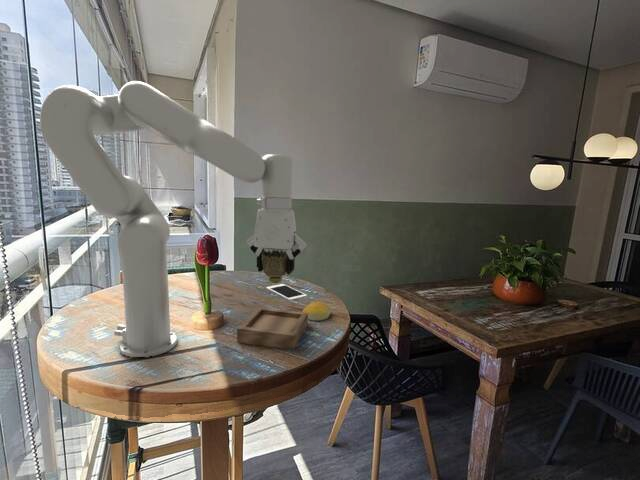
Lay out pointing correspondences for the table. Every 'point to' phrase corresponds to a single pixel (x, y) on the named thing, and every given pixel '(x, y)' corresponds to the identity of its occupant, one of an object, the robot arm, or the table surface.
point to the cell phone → (286, 291)
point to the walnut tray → (273, 328)
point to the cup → (274, 265)
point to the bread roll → (317, 311)
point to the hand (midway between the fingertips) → (275, 271)
